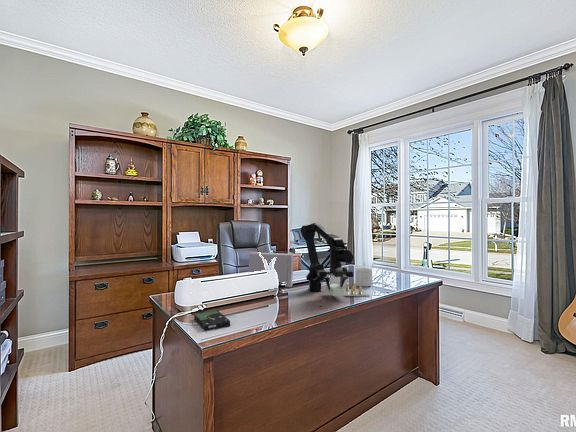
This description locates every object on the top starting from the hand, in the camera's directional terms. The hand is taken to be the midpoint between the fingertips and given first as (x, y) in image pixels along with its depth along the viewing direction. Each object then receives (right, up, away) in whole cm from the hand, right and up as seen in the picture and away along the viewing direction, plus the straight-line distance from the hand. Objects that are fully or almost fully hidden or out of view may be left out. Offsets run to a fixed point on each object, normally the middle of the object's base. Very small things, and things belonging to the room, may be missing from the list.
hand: (334, 289), depth 160 cm
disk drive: (-56, -4, -41) cm, 70 cm away
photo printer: (+23, -5, +28) cm, 36 cm away
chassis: (+12, -4, +9) cm, 15 cm away
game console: (-36, -4, +26) cm, 45 cm away
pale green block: (0, -2, 0) cm, 2 cm away
